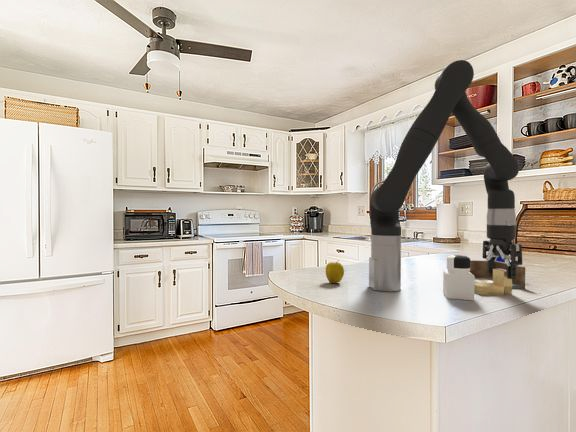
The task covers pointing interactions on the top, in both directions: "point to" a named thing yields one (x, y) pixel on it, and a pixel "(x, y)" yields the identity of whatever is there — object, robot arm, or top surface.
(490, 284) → the brass bracket
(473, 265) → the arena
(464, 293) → the medicine bottle
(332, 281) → the apple
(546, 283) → the top surface
